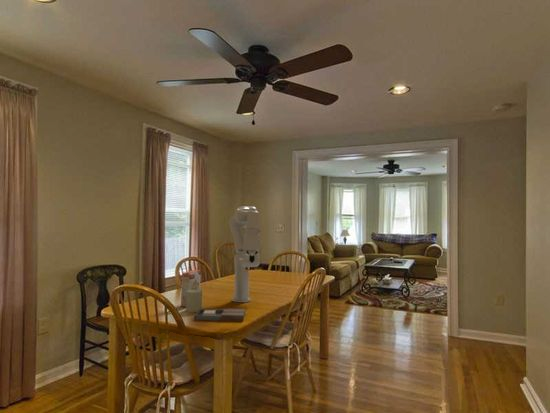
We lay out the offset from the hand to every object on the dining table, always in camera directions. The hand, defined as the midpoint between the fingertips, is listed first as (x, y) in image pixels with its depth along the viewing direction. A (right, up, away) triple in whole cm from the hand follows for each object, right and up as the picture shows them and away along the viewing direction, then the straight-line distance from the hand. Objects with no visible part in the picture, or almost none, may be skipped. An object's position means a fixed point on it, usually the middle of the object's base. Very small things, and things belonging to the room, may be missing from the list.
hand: (251, 262), depth 204 cm
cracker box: (-40, -29, +14) cm, 51 cm away
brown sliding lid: (-9, -29, -13) cm, 33 cm away
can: (-35, -29, +1) cm, 45 cm away
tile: (-23, -25, -13) cm, 36 cm away
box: (-23, -28, -13) cm, 38 cm away
